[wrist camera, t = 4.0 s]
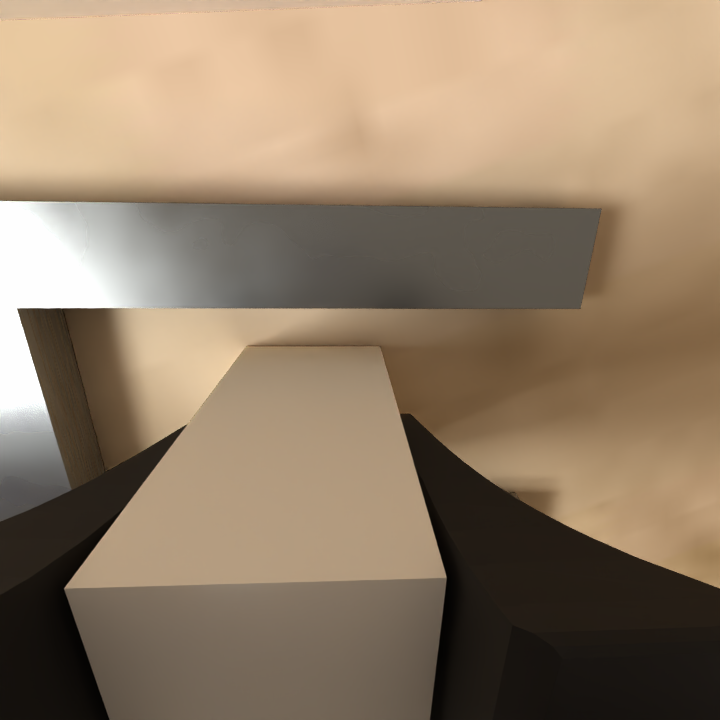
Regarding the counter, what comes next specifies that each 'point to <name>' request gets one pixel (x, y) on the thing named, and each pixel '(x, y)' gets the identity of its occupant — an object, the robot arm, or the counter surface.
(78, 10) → the milk
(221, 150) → the counter surface
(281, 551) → the cream block
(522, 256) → the grey bent bar
